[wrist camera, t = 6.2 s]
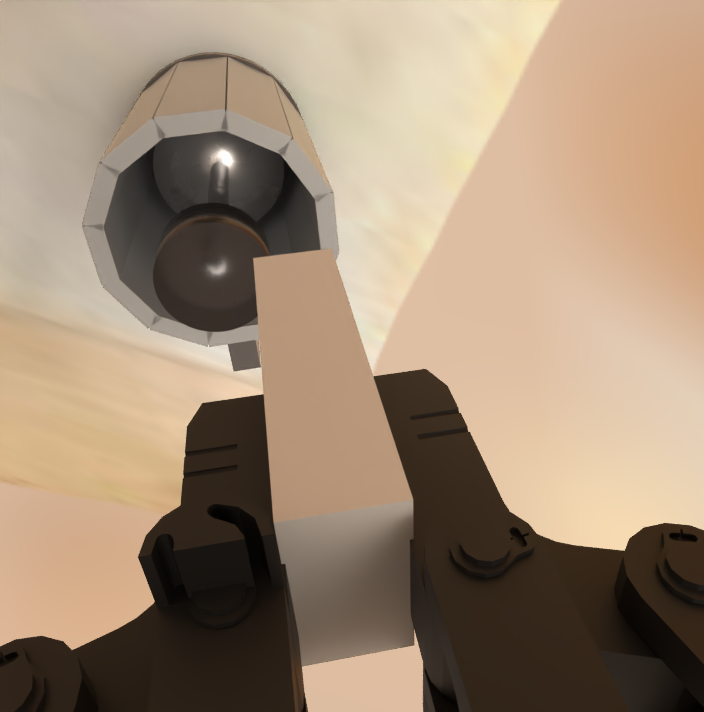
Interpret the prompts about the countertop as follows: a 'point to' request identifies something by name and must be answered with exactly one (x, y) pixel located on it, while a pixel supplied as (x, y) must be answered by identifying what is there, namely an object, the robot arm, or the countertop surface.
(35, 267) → the countertop surface
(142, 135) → the press beaker
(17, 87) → the countertop surface
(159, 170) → the plunger
